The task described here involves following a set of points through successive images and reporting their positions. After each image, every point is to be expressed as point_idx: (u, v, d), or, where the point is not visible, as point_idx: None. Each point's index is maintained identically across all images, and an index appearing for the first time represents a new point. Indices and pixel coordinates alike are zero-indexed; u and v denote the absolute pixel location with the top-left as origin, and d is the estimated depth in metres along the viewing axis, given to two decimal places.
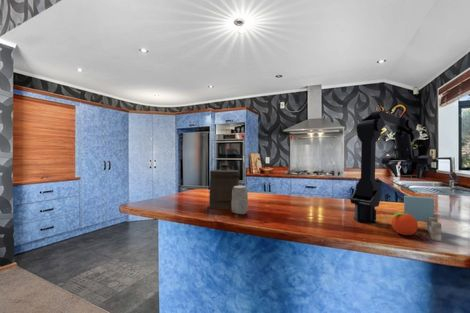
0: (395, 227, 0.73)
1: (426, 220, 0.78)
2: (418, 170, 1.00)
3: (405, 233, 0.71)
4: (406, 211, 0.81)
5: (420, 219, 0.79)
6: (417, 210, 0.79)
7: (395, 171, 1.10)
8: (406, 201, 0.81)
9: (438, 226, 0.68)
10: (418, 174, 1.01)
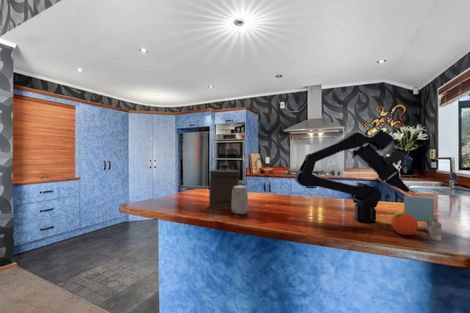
0: (395, 227, 0.73)
1: (426, 220, 0.78)
2: (392, 185, 0.80)
3: (405, 233, 0.71)
4: (406, 211, 0.81)
5: (420, 219, 0.79)
6: (417, 210, 0.79)
7: None
8: (406, 201, 0.81)
9: (438, 226, 0.68)
10: (399, 188, 0.80)
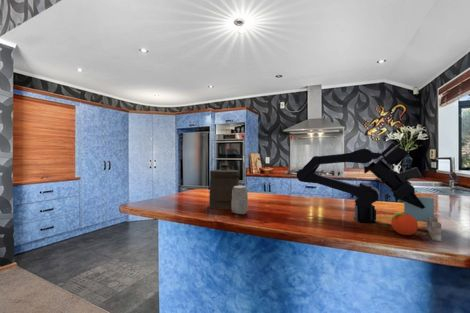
0: (395, 227, 0.73)
1: (426, 220, 0.78)
2: (407, 202, 0.80)
3: (405, 233, 0.71)
4: (406, 211, 0.81)
5: (420, 219, 0.79)
6: (417, 210, 0.79)
7: None
8: None
9: (438, 226, 0.68)
10: (414, 205, 0.79)
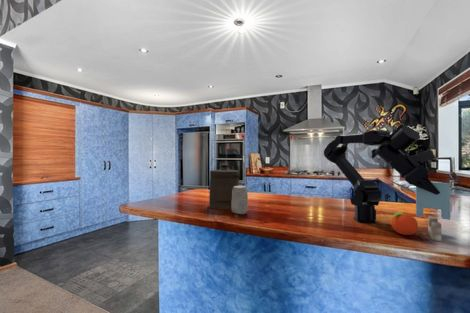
0: (395, 227, 0.73)
1: (441, 207, 0.71)
2: (419, 187, 0.73)
3: (405, 233, 0.71)
4: (418, 198, 0.74)
5: (434, 206, 0.71)
6: (430, 197, 0.72)
7: None
8: None
9: (438, 226, 0.68)
10: None
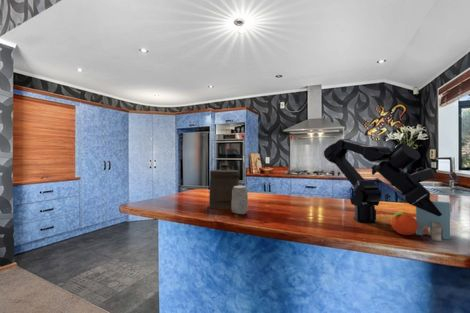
0: (395, 227, 0.73)
1: (441, 227, 0.70)
2: (421, 208, 0.70)
3: (405, 233, 0.71)
4: (418, 216, 0.74)
5: None
6: (430, 216, 0.72)
7: None
8: None
9: (438, 226, 0.68)
10: (429, 212, 0.69)
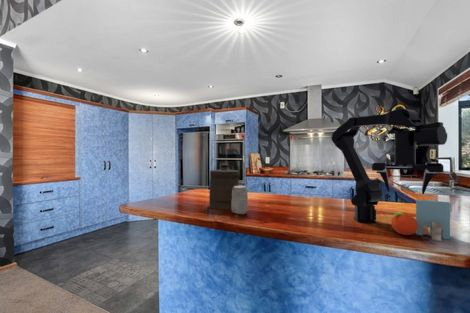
0: (395, 227, 0.73)
1: (441, 227, 0.70)
2: (427, 181, 0.72)
3: (405, 233, 0.71)
4: (418, 216, 0.74)
5: None
6: (430, 216, 0.72)
7: (388, 183, 0.79)
8: (418, 205, 0.74)
9: (438, 226, 0.68)
10: (424, 187, 0.72)
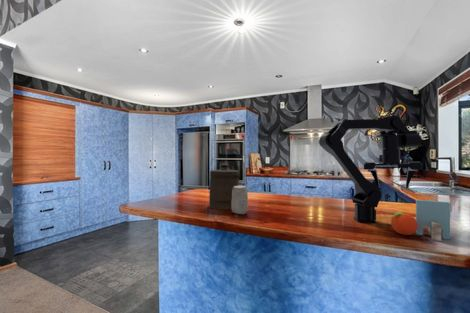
0: (395, 227, 0.73)
1: (441, 227, 0.70)
2: (409, 177, 0.85)
3: (405, 233, 0.71)
4: (418, 216, 0.74)
5: None
6: (430, 216, 0.72)
7: None
8: (418, 205, 0.74)
9: (438, 226, 0.68)
10: (408, 182, 0.86)
